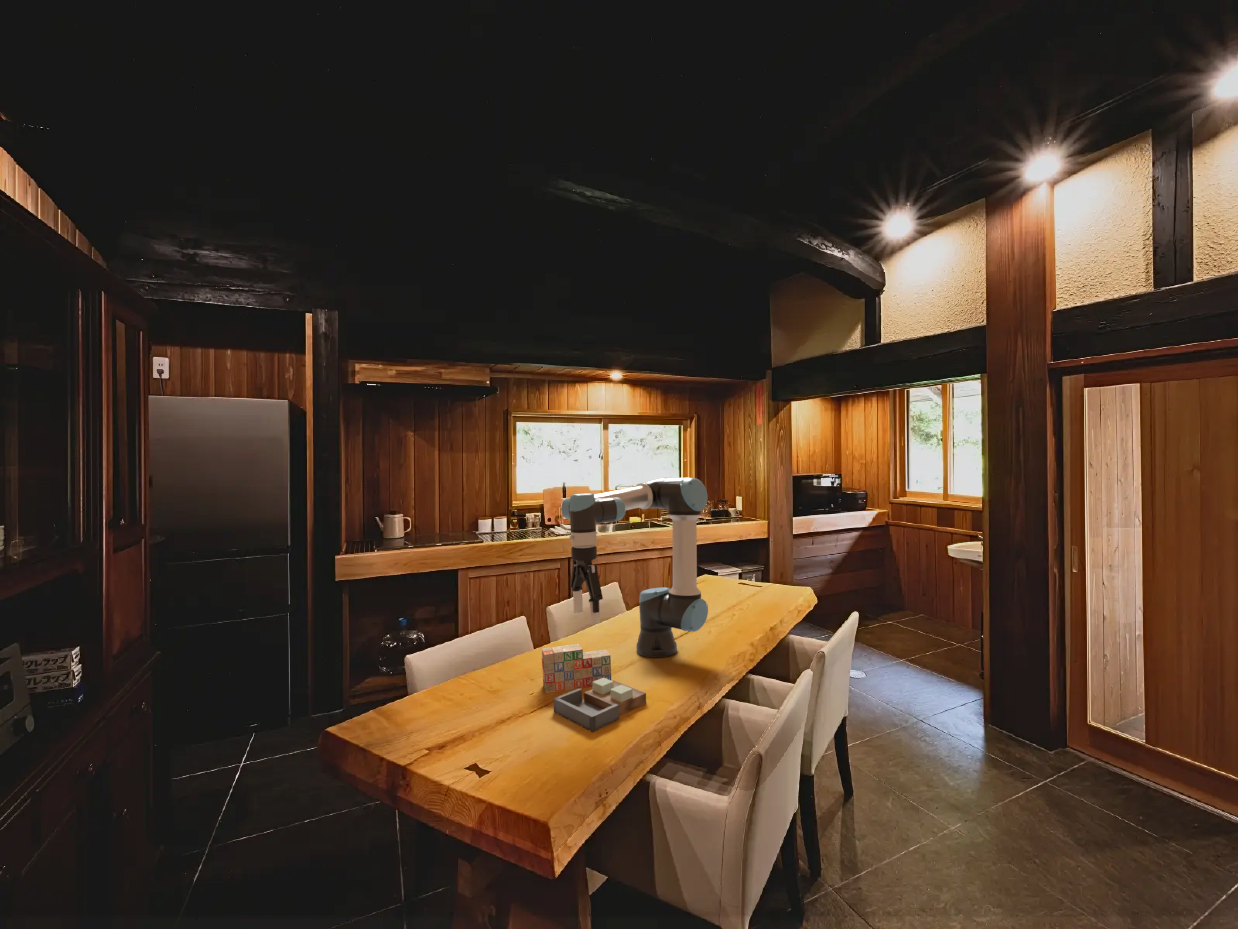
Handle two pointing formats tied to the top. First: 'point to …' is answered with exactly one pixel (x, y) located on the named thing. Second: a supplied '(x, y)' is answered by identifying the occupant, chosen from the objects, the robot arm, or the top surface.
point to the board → (607, 701)
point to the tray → (584, 711)
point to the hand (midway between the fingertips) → (586, 617)
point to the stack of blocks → (573, 667)
